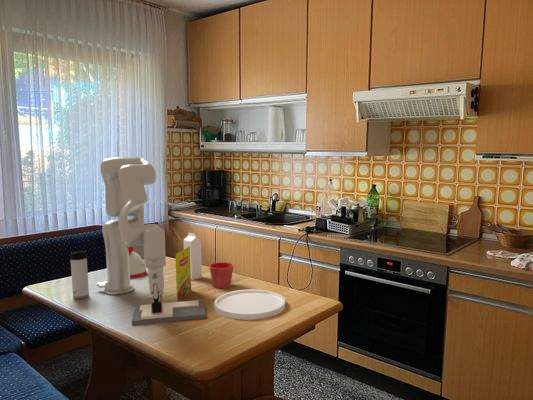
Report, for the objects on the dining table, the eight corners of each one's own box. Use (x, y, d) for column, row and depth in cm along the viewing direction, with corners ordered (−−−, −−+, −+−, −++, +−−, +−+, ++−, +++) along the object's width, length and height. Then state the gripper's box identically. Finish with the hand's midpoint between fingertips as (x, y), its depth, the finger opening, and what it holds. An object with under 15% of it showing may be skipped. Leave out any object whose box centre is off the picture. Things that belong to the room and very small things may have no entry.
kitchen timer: (148, 270, 221) (147, 241, 219) (142, 278, 207) (141, 247, 206) (121, 270, 220) (120, 242, 219) (113, 278, 207) (111, 248, 205)
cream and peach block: (141, 319, 151) (140, 300, 150) (142, 311, 159) (141, 293, 158) (172, 316, 154) (171, 297, 153) (172, 309, 161) (171, 291, 160)
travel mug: (73, 300, 176) (70, 253, 174) (72, 295, 182) (69, 250, 180) (89, 297, 179) (86, 251, 177) (88, 293, 185) (85, 248, 183)
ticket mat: (132, 325, 151) (131, 319, 150) (135, 309, 165) (135, 304, 165) (205, 318, 156) (205, 312, 156) (202, 303, 171) (202, 298, 170)
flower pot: (223, 280, 201) (222, 260, 200) (238, 285, 193) (238, 264, 192) (205, 285, 194) (204, 265, 193) (220, 291, 186) (219, 269, 185)
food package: (178, 302, 173) (176, 254, 170) (175, 302, 173) (174, 254, 171) (192, 290, 188) (190, 246, 185) (190, 290, 188) (188, 245, 186)
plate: (252, 327, 149) (252, 320, 148) (199, 308, 167) (199, 302, 166) (299, 304, 170) (299, 298, 169) (248, 290, 188) (248, 285, 188)
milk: (192, 280, 202) (190, 235, 200) (184, 277, 206) (182, 233, 204) (202, 277, 207) (200, 232, 204) (194, 275, 211) (193, 231, 208)
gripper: (165, 266, 147) (167, 317, 149) (165, 255, 163) (167, 302, 165) (142, 268, 145) (145, 320, 147) (145, 256, 161) (147, 303, 163)
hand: (157, 310), depth 156 cm, fingers closed on cream and peach block, 3 cm apart
